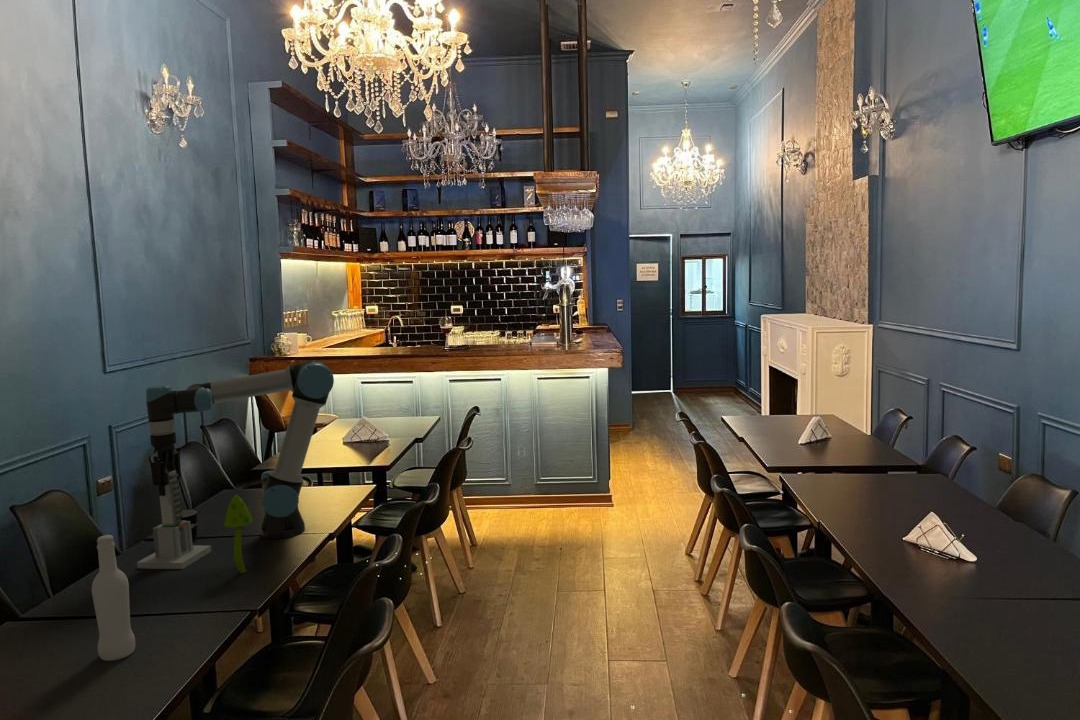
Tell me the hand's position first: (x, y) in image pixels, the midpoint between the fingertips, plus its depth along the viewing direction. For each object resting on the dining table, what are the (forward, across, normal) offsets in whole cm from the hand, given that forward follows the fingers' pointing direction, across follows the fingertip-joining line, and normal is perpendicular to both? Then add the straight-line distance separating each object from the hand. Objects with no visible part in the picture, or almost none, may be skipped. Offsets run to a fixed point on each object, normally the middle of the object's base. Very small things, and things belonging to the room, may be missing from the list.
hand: (169, 502), depth 255 cm
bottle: (+20, +63, +27) cm, 71 cm away
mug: (+20, -19, -8) cm, 28 cm away
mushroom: (+20, +10, +30) cm, 37 cm away
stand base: (+19, 0, 0) cm, 19 cm away
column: (+11, 0, 0) cm, 11 cm away
